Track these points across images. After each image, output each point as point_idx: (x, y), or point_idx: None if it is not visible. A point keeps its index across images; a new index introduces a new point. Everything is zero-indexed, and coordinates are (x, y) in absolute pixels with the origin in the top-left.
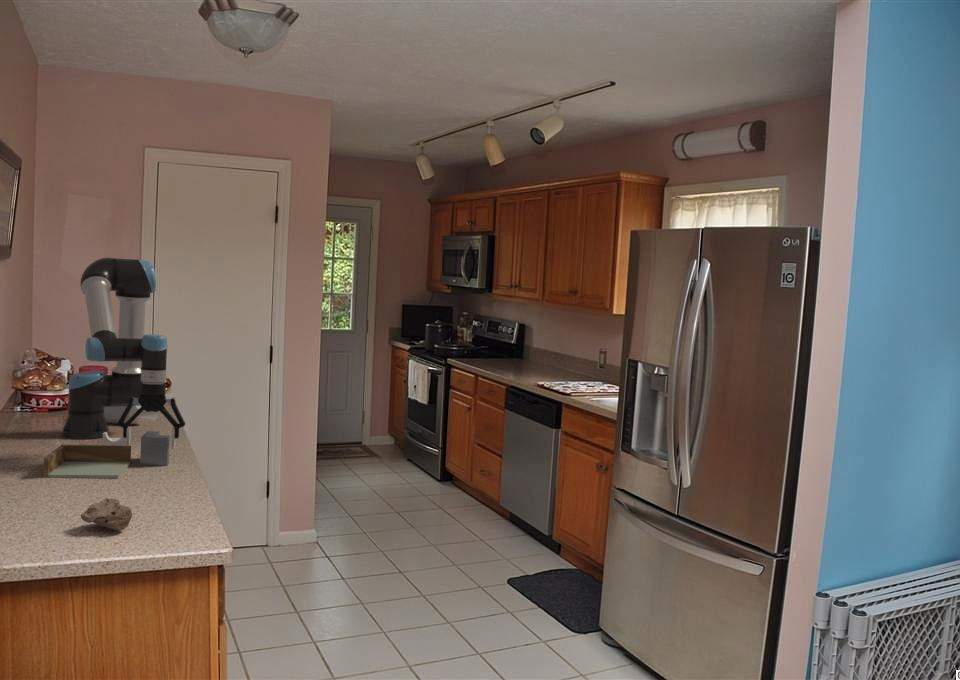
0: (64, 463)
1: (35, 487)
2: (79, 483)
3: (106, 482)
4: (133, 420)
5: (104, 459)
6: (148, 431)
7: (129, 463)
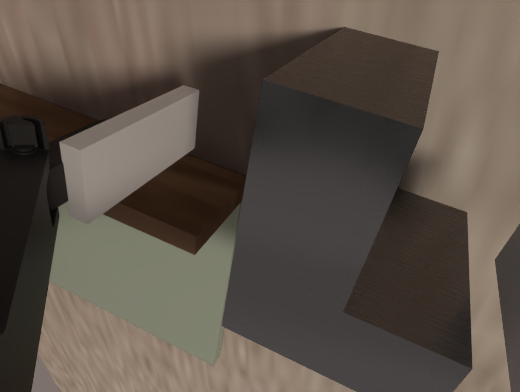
0: None
1: (57, 331)
2: (131, 347)
3: (193, 372)
4: (43, 251)
5: None
6: (280, 95)
7: (240, 208)
